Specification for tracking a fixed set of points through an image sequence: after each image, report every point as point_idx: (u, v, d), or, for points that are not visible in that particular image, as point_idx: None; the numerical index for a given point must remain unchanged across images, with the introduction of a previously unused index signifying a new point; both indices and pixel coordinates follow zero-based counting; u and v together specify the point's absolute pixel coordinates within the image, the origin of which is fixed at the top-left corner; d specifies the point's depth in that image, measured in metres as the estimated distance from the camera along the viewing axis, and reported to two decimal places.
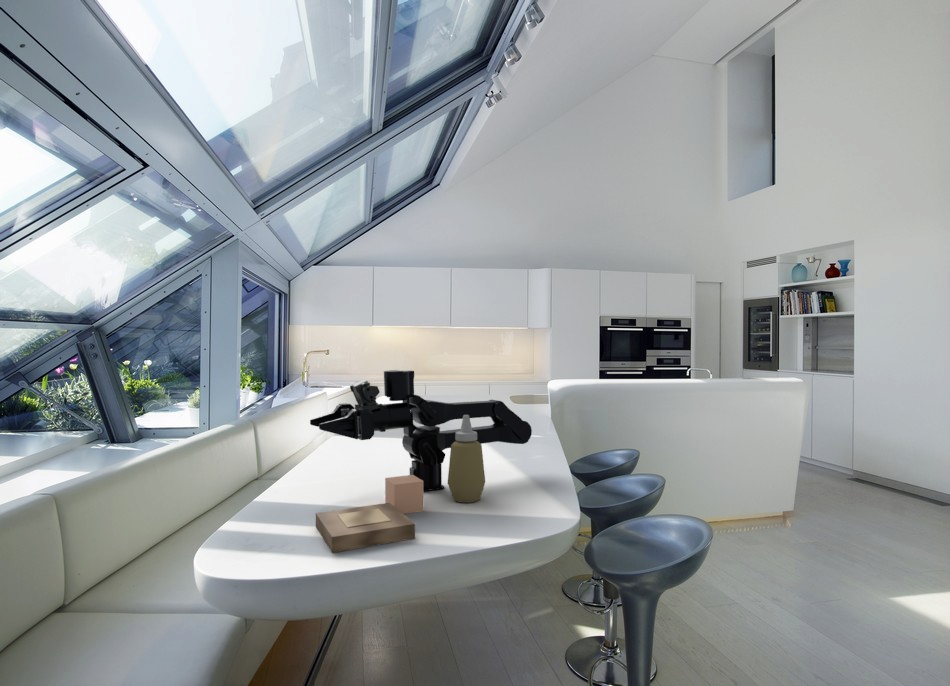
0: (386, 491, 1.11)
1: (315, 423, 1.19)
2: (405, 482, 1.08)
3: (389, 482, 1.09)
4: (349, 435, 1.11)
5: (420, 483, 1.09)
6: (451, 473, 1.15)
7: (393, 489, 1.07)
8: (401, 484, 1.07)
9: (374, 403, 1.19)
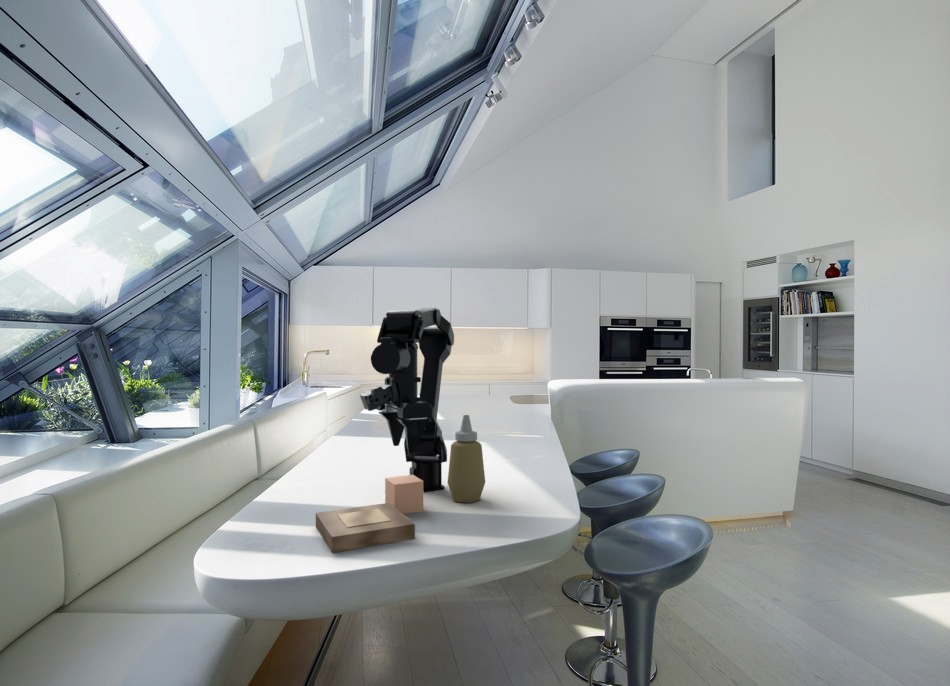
0: (386, 491, 1.11)
1: (398, 440, 1.14)
2: (405, 482, 1.08)
3: (389, 482, 1.09)
4: (424, 425, 1.06)
5: (420, 483, 1.09)
6: (451, 473, 1.15)
7: (393, 489, 1.07)
8: (401, 484, 1.07)
9: (390, 389, 1.07)
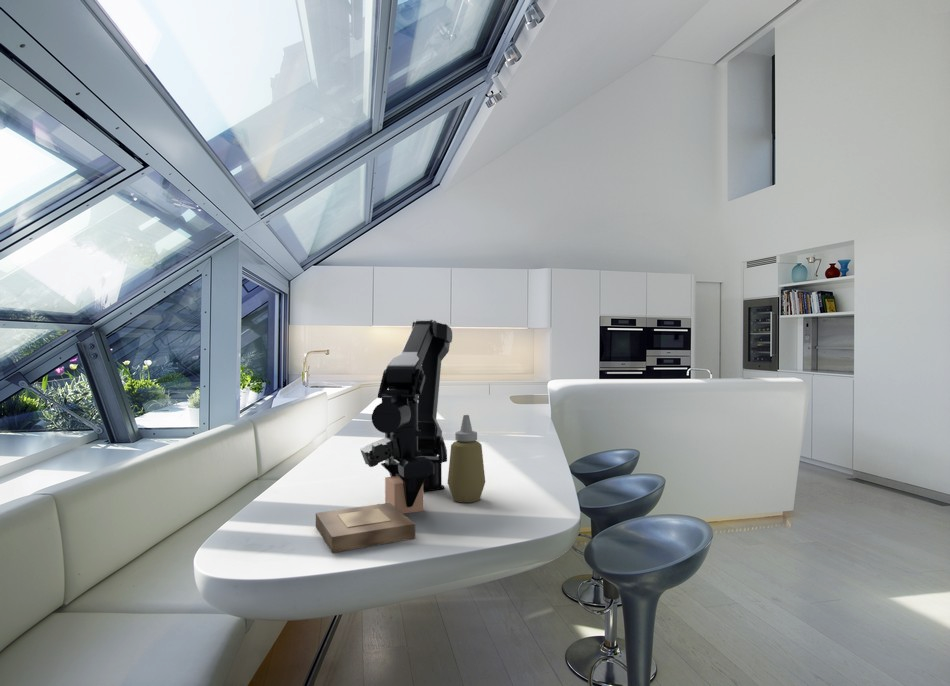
0: (386, 491, 1.11)
1: None
2: None
3: (389, 482, 1.09)
4: (423, 479, 1.07)
5: None
6: (451, 473, 1.15)
7: (393, 489, 1.07)
8: (401, 483, 1.07)
9: (390, 444, 1.07)
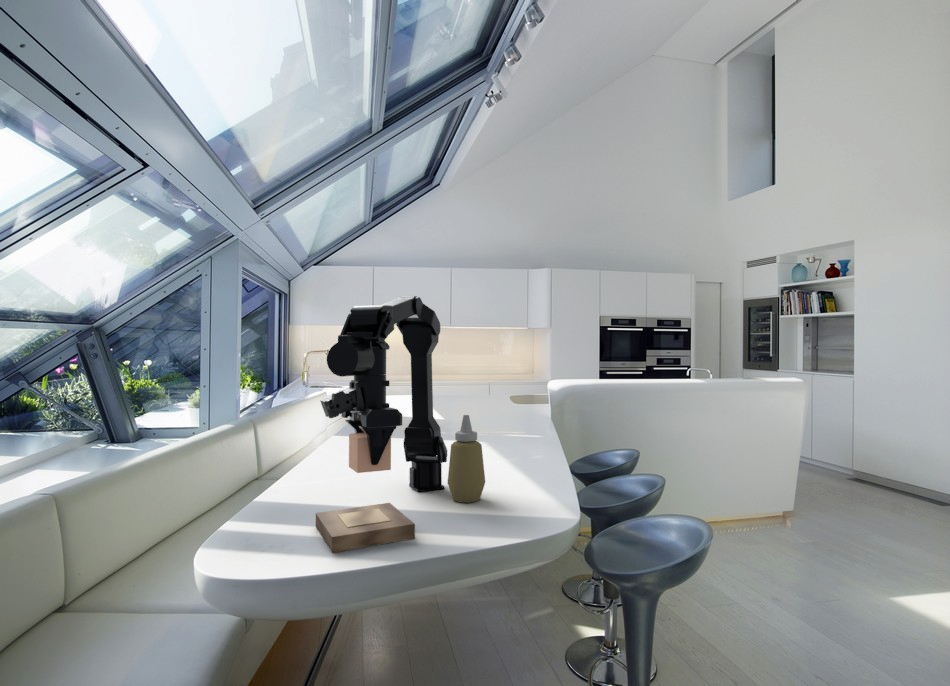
0: (350, 448, 0.99)
1: None
2: None
3: (352, 437, 0.97)
4: (390, 433, 0.95)
5: None
6: (451, 473, 1.15)
7: (356, 443, 0.95)
8: (365, 438, 0.95)
9: (354, 393, 0.95)
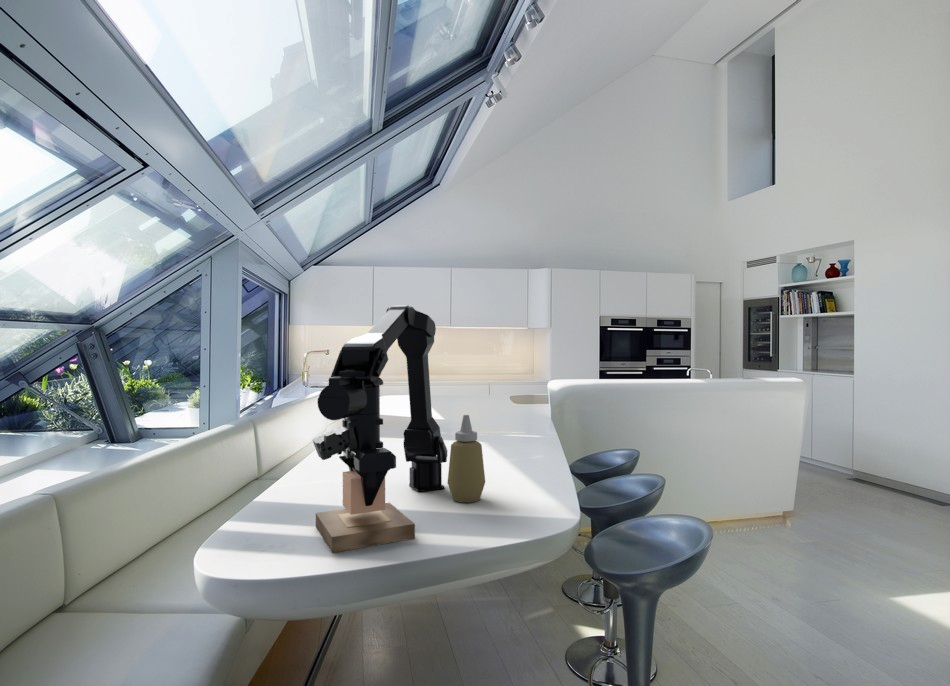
0: (343, 487, 0.97)
1: None
2: None
3: (346, 477, 0.95)
4: (384, 474, 0.93)
5: None
6: (451, 473, 1.15)
7: (350, 484, 0.93)
8: (359, 479, 0.93)
9: (346, 433, 0.93)
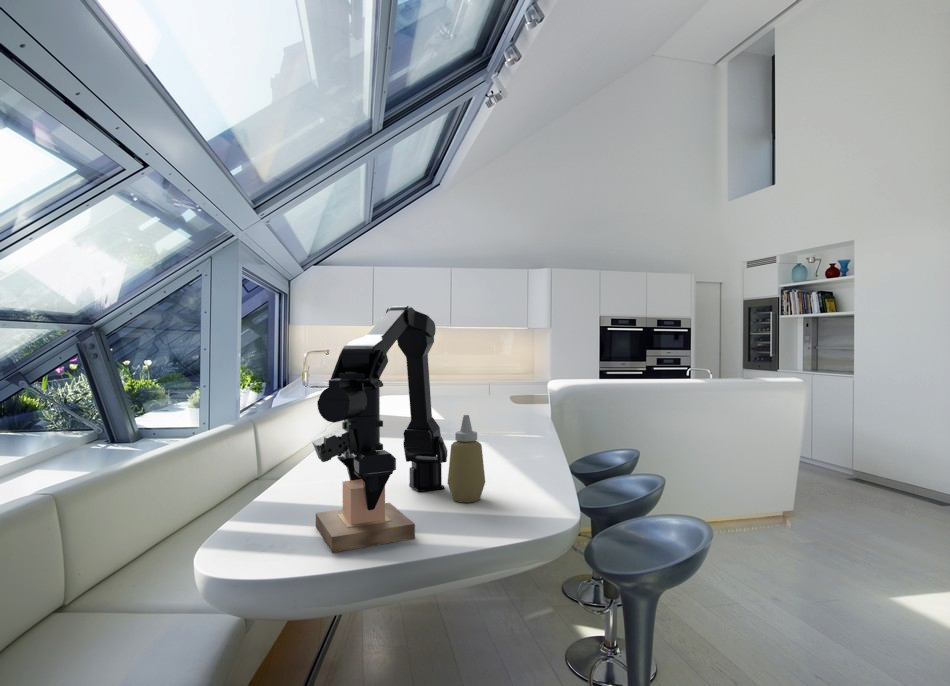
0: (343, 496, 0.97)
1: None
2: None
3: (346, 486, 0.95)
4: (386, 478, 0.92)
5: None
6: (451, 473, 1.15)
7: (349, 494, 0.93)
8: (359, 489, 0.93)
9: (346, 436, 0.93)
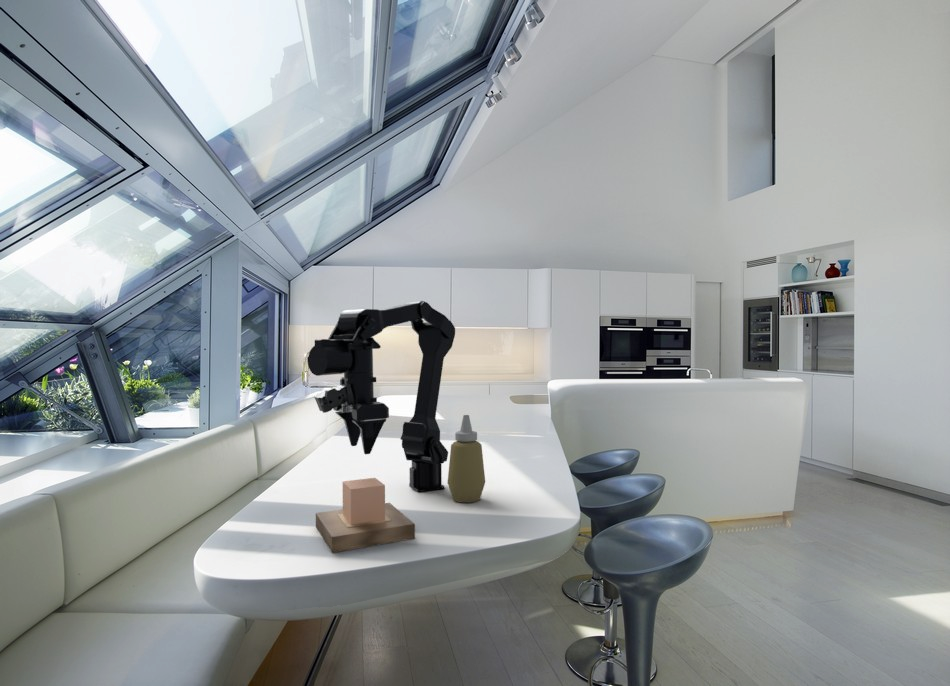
0: (343, 496, 0.97)
1: (355, 440, 1.14)
2: (364, 486, 0.94)
3: (346, 486, 0.95)
4: (380, 425, 1.05)
5: (381, 487, 0.95)
6: (451, 473, 1.15)
7: (349, 494, 0.93)
8: (359, 489, 0.93)
9: (344, 390, 1.06)
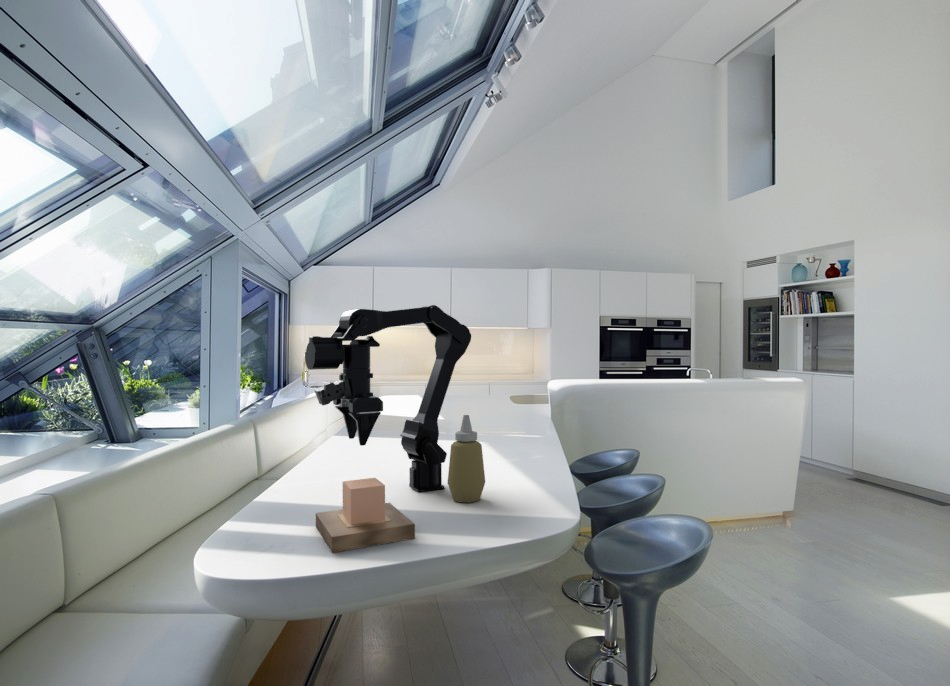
0: (343, 496, 0.97)
1: (353, 433, 1.20)
2: (364, 486, 0.94)
3: (346, 486, 0.95)
4: (375, 418, 1.11)
5: (381, 487, 0.95)
6: (451, 473, 1.15)
7: (349, 494, 0.93)
8: (359, 489, 0.93)
9: (342, 384, 1.13)
